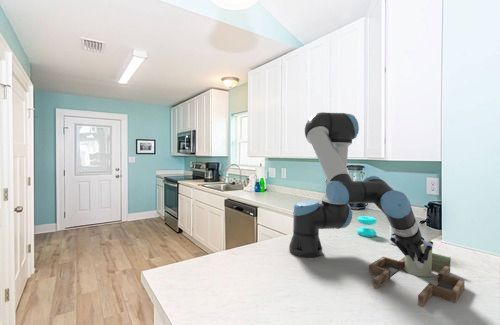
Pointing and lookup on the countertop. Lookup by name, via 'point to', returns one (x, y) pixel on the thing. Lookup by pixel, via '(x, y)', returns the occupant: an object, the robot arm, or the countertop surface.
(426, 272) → the can
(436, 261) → the channel
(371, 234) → the donuts
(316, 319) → the countertop surface
